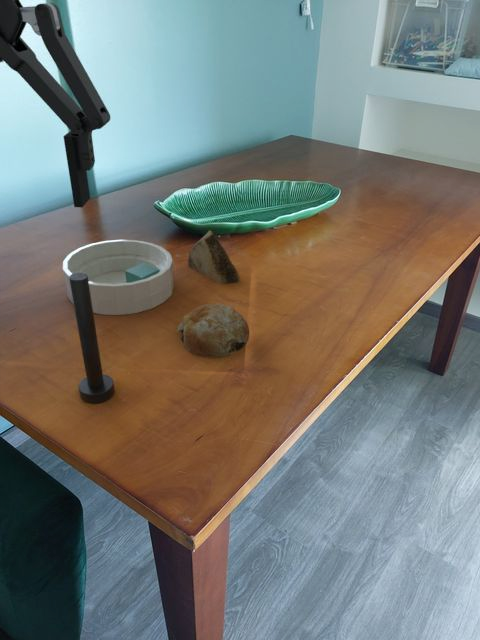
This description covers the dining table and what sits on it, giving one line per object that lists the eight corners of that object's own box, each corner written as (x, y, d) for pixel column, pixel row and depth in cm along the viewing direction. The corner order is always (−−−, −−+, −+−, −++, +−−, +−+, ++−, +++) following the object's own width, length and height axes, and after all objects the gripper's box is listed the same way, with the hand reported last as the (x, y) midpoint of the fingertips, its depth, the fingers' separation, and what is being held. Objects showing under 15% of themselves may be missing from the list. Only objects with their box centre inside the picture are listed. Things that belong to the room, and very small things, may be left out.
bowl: (53, 316, 85) (46, 282, 81) (85, 267, 99) (81, 237, 96) (164, 322, 85) (162, 288, 82) (180, 272, 100) (179, 242, 96)
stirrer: (76, 387, 71) (54, 271, 61) (109, 379, 73) (93, 265, 63) (84, 407, 68) (62, 288, 58) (118, 398, 69) (102, 281, 60)
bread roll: (210, 385, 78) (230, 353, 73) (160, 339, 79) (176, 304, 74) (248, 354, 85) (268, 322, 80) (201, 312, 86) (218, 278, 81)
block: (127, 291, 91) (124, 270, 89) (144, 283, 94) (142, 262, 91) (143, 299, 89) (142, 277, 87) (160, 290, 92) (159, 269, 90)
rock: (171, 256, 100) (181, 272, 91) (196, 217, 98) (209, 230, 90) (217, 284, 105) (231, 302, 97) (242, 248, 104) (258, 263, 95)
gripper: (128, -65, 43) (147, 193, 56) (-181, -83, 43) (-94, 180, 55) (104, -72, 37) (132, 219, 49) (-257, -94, 37) (-140, 205, 49)
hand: (13, 199), depth 52 cm, fingers open, 13 cm apart
